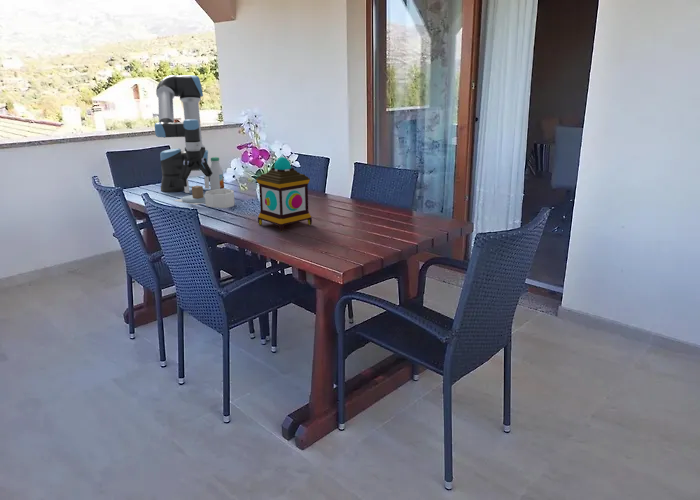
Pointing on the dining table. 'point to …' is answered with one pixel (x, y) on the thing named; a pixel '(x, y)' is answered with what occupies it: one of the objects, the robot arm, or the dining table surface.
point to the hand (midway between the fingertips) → (197, 190)
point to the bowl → (219, 198)
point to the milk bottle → (216, 175)
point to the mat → (189, 203)
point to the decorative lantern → (283, 195)
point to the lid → (195, 195)
